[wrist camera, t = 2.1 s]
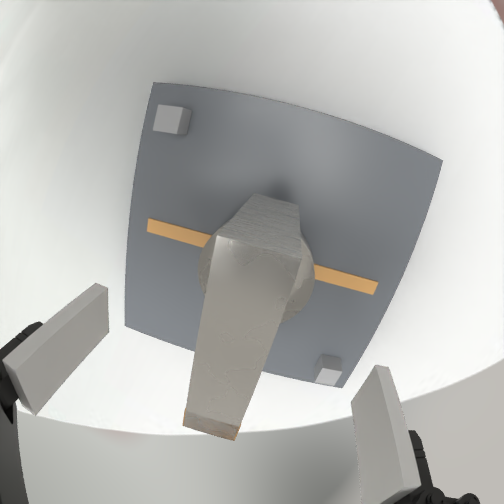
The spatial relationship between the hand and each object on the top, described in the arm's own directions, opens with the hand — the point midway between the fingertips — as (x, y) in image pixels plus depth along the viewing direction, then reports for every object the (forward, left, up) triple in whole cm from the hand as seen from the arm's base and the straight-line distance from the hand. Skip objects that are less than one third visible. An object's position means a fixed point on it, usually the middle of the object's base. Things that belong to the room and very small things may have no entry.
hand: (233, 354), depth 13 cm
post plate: (0, 0, -13) cm, 13 cm away
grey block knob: (0, 0, -10) cm, 10 cm away
